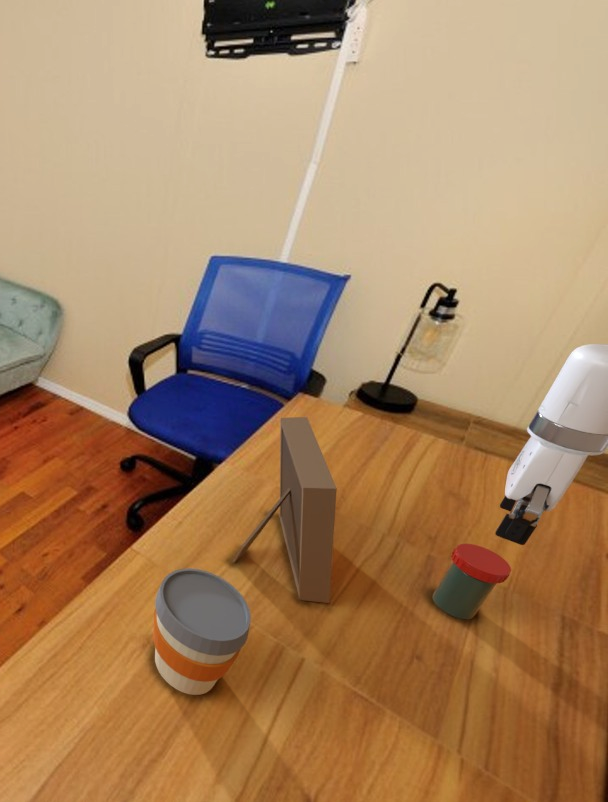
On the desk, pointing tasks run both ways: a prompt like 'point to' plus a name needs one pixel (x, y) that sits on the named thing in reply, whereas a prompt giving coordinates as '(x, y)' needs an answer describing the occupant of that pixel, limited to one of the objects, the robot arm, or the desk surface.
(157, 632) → the reusable coffee cup
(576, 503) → the desk surface
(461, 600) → the jam jar
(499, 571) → the jam lid
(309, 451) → the photo frame
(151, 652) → the desk surface
